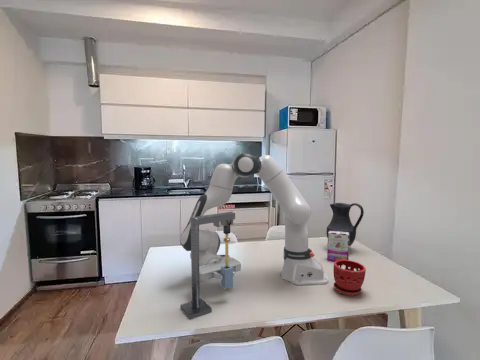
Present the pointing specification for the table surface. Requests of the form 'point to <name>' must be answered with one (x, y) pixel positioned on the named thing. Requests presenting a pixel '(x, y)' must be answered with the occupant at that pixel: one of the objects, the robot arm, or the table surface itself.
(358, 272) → the plant pot
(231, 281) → the sleeve
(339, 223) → the pitcher
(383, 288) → the table surface
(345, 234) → the candy bar box
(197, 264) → the grey gallows stand
